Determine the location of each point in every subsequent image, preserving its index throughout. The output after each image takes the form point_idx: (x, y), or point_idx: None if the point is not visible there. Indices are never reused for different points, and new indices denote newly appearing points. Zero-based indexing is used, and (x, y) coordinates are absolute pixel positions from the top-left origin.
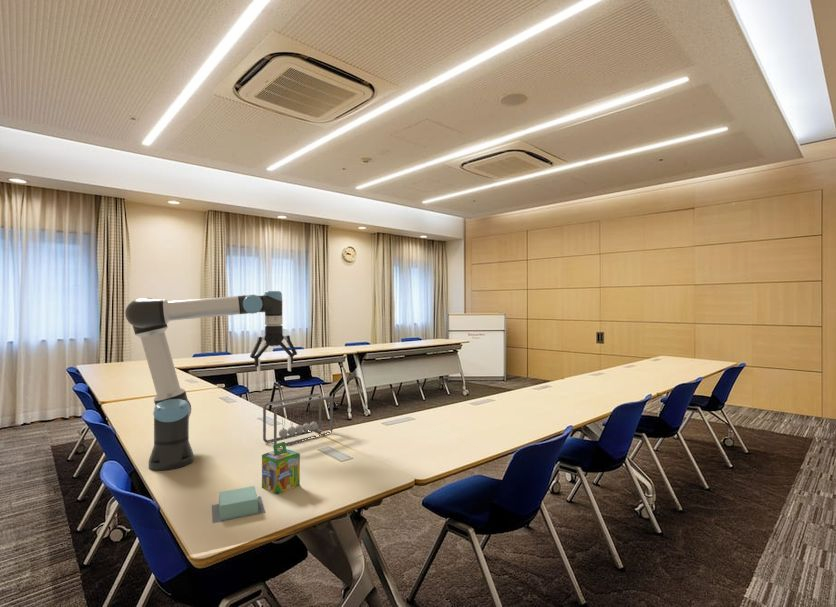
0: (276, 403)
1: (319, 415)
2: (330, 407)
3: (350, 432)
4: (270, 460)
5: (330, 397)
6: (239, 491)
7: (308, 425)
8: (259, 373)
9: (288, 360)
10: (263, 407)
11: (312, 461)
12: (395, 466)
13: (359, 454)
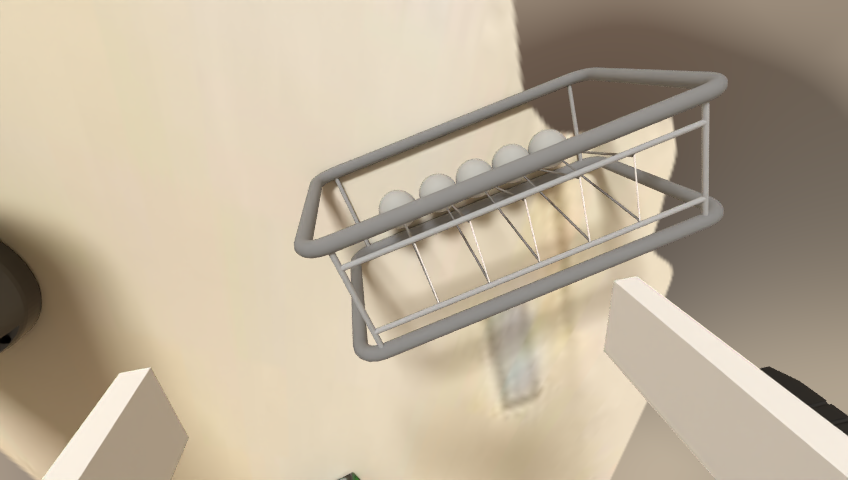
0: (382, 254)
1: (621, 81)
2: (671, 193)
3: None
4: None
5: (717, 222)
6: None
7: (520, 180)
8: (172, 449)
9: (752, 462)
10: (295, 249)
11: (440, 391)
12: (587, 453)
13: (564, 378)
